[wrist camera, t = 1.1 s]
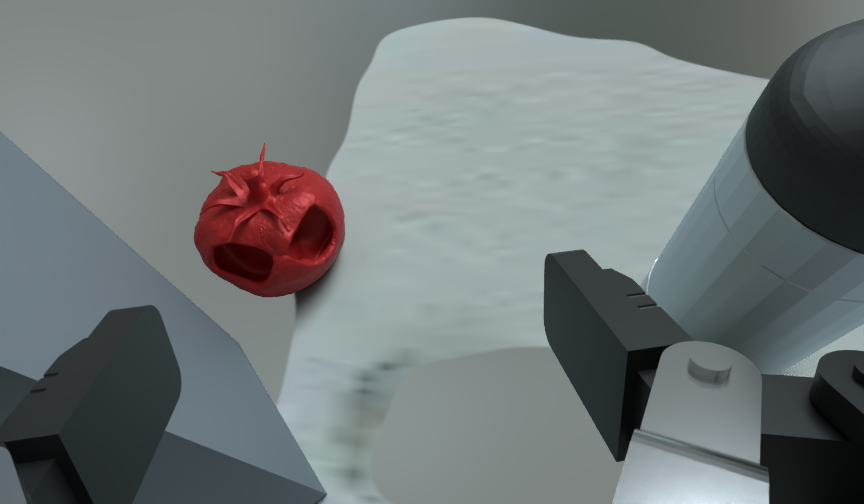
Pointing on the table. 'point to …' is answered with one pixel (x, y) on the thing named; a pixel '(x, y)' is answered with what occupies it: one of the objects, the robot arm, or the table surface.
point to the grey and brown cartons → (186, 327)
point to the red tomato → (270, 227)
